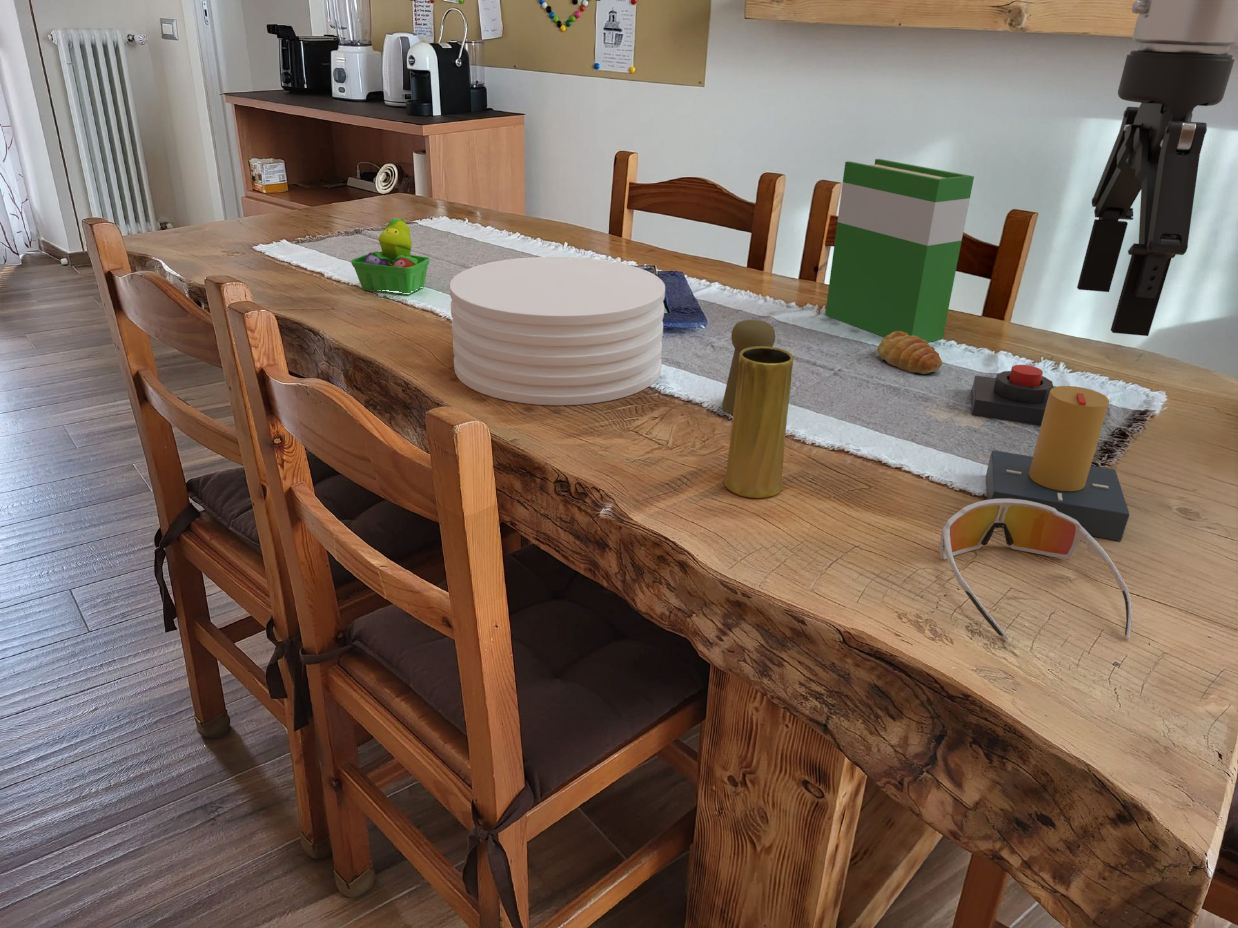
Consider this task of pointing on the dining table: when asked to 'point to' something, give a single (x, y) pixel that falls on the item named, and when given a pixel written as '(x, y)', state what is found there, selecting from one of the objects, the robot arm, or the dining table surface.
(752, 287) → the dining table surface
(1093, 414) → the yellow round cylinder
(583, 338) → the plate stack
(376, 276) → the fruit basket
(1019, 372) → the button
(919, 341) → the pastry
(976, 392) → the button box
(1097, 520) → the knob panel
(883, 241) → the green cereal box
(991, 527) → the sunglasses
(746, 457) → the vase
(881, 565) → the dining table surface
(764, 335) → the pepper mill
